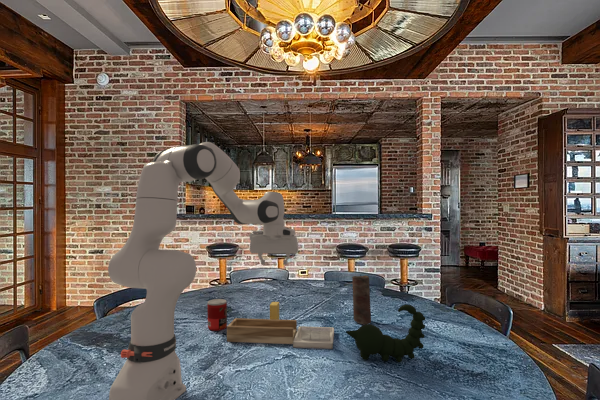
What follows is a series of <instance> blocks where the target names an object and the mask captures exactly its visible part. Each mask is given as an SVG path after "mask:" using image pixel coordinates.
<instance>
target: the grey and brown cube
mask: <svg viewBox="0 0 600 400" xmlns="http://www.w3.org/2000/svg"><path fill="white" fill-rule="evenodd" d="M320 338H321V340H322V341H330V328H321V330H320Z"/></svg>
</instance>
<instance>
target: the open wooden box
mask: <svg viewBox="0 0 600 400" xmlns="http://www.w3.org/2000/svg"><path fill="white" fill-rule="evenodd" d="M297 321H298V320H297V319H280V318H279V319H270V318H244V317H243V318H239V317H235V318H234V319H233V320H232V321H231V322H230V323H229V324H227V327H226V341H227V343H229V342H231V343H255V344H257V343H259V344H278V345H279V344H283V345H293V341H294V338H295V336H296V333H297V330H298V327H297V326H298V325H297V324H298V323H297Z"/></svg>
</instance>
